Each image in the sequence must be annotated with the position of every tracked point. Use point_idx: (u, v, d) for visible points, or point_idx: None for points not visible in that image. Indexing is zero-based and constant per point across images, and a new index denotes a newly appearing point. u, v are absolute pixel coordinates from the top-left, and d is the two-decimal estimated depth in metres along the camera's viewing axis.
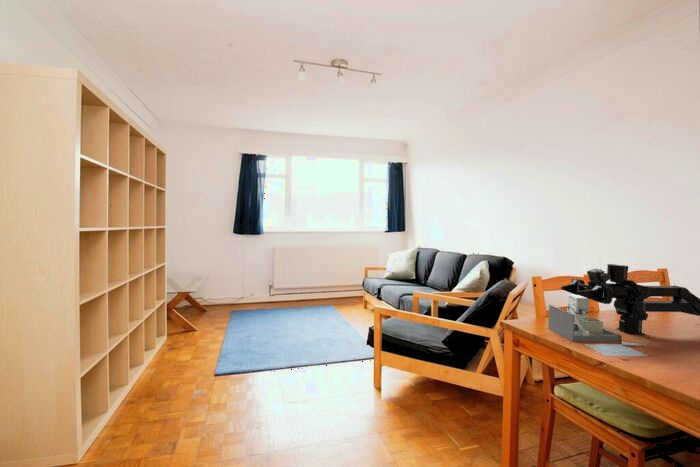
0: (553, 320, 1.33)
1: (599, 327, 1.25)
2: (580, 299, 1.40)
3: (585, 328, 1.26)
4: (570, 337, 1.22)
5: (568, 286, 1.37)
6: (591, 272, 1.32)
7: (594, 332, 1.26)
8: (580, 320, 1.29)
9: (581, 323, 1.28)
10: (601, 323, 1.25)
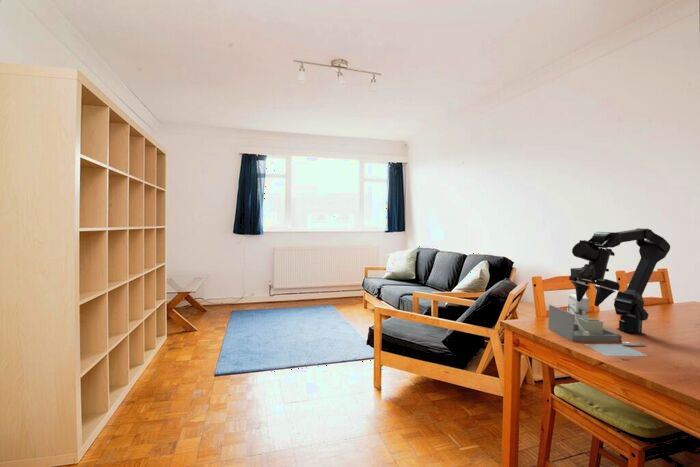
0: (553, 320, 1.33)
1: (599, 327, 1.25)
2: None
3: (585, 328, 1.26)
4: (570, 337, 1.22)
5: (578, 293, 1.33)
6: None
7: (594, 332, 1.26)
8: (580, 320, 1.29)
9: (581, 323, 1.28)
10: (601, 323, 1.25)
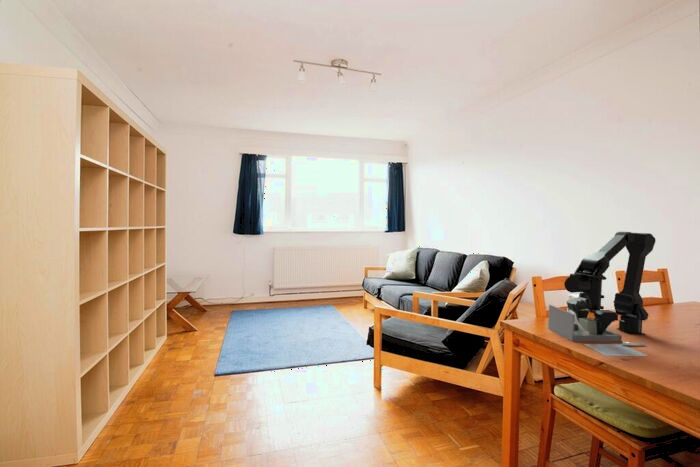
0: (553, 320, 1.33)
1: None
2: None
3: (585, 328, 1.26)
4: (570, 337, 1.22)
5: None
6: None
7: (594, 332, 1.26)
8: (580, 320, 1.29)
9: (581, 323, 1.28)
10: None
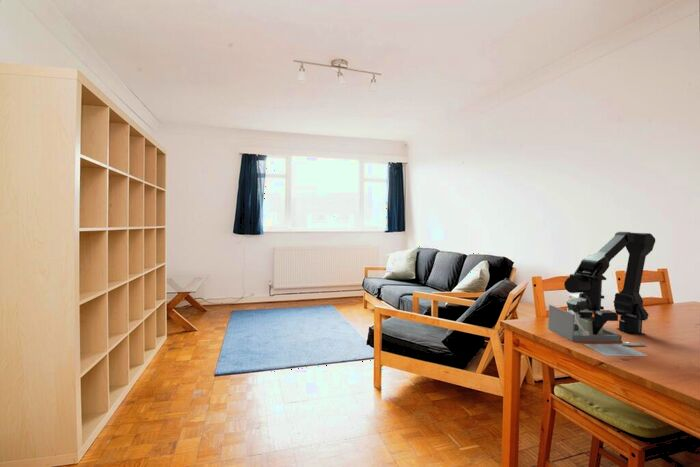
0: (553, 320, 1.33)
1: None
2: None
3: (585, 328, 1.26)
4: (570, 337, 1.22)
5: None
6: None
7: None
8: (580, 320, 1.29)
9: (581, 323, 1.28)
10: None
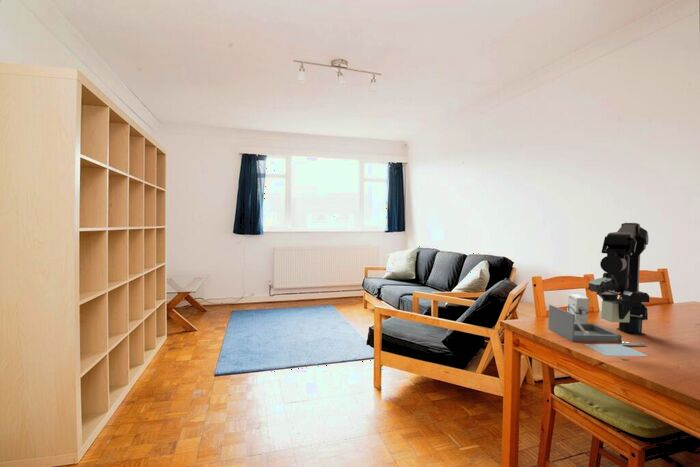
0: (553, 320, 1.33)
1: None
2: (580, 299, 1.41)
3: (610, 312, 1.12)
4: (570, 337, 1.22)
5: None
6: None
7: None
8: (604, 303, 1.15)
9: (605, 306, 1.14)
10: None
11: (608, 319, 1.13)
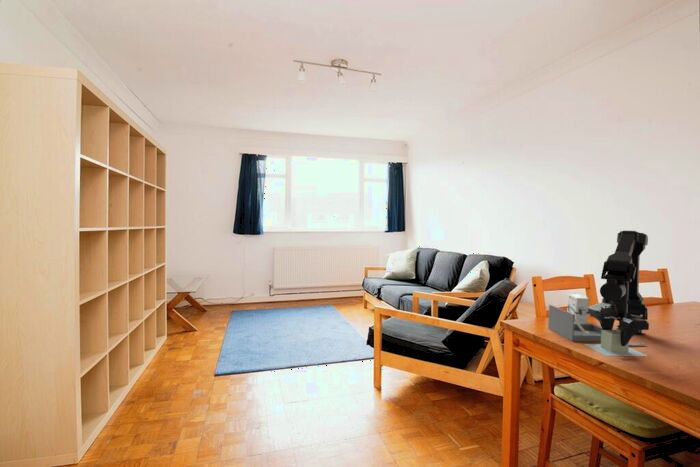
0: (553, 320, 1.33)
1: None
2: (580, 299, 1.41)
3: (609, 342, 1.12)
4: (570, 337, 1.22)
5: None
6: None
7: (619, 346, 1.12)
8: (603, 332, 1.15)
9: (604, 336, 1.14)
10: None
11: (607, 349, 1.13)
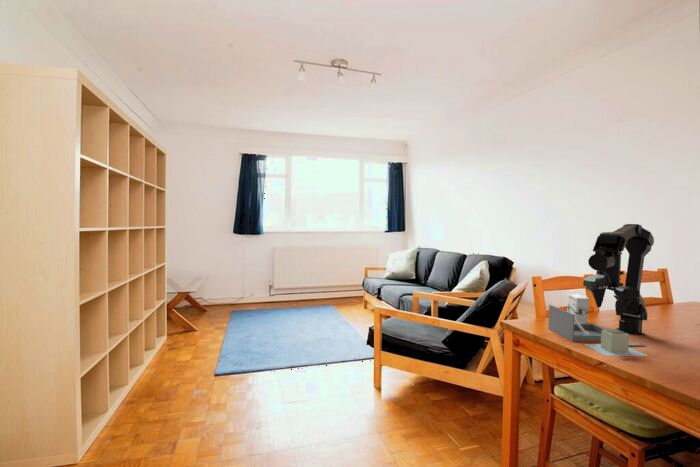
0: (553, 320, 1.33)
1: (625, 340, 1.12)
2: (580, 299, 1.41)
3: (609, 342, 1.12)
4: (570, 337, 1.22)
5: (597, 299, 1.26)
6: None
7: (619, 346, 1.12)
8: (603, 332, 1.15)
9: (604, 336, 1.14)
10: (627, 336, 1.11)
11: (607, 349, 1.13)
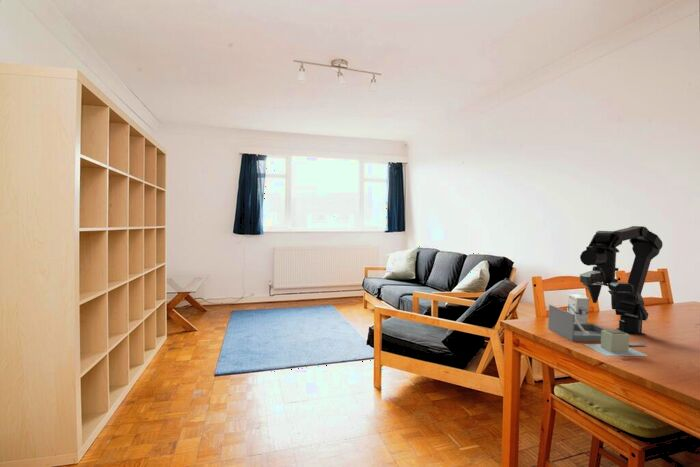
0: (553, 320, 1.33)
1: (625, 340, 1.12)
2: (580, 299, 1.40)
3: (609, 342, 1.12)
4: (570, 337, 1.22)
5: (593, 295, 1.31)
6: None
7: (619, 346, 1.12)
8: (603, 332, 1.15)
9: (604, 336, 1.14)
10: (627, 336, 1.11)
11: (607, 349, 1.13)
